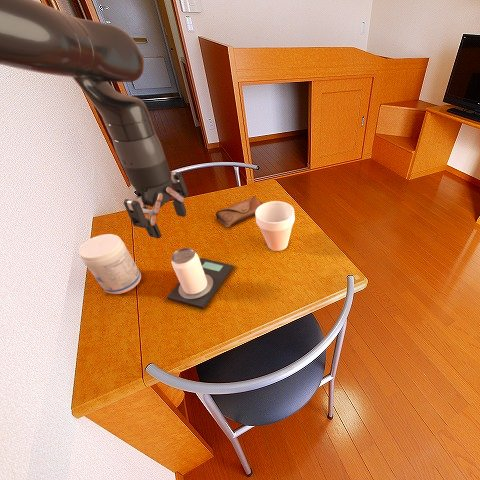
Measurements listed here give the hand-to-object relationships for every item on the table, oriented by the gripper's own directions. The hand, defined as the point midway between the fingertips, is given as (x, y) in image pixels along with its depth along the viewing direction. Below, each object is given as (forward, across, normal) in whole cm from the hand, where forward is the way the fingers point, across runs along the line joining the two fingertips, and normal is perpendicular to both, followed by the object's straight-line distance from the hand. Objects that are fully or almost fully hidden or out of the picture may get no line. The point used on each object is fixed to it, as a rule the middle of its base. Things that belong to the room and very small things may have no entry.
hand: (170, 225), depth 63 cm
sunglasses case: (+23, +38, +5) cm, 45 cm away
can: (+22, +1, 0) cm, 22 cm away
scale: (+23, +3, 0) cm, 24 cm away
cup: (+23, +26, -14) cm, 38 cm away
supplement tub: (+24, -3, +22) cm, 32 cm away
